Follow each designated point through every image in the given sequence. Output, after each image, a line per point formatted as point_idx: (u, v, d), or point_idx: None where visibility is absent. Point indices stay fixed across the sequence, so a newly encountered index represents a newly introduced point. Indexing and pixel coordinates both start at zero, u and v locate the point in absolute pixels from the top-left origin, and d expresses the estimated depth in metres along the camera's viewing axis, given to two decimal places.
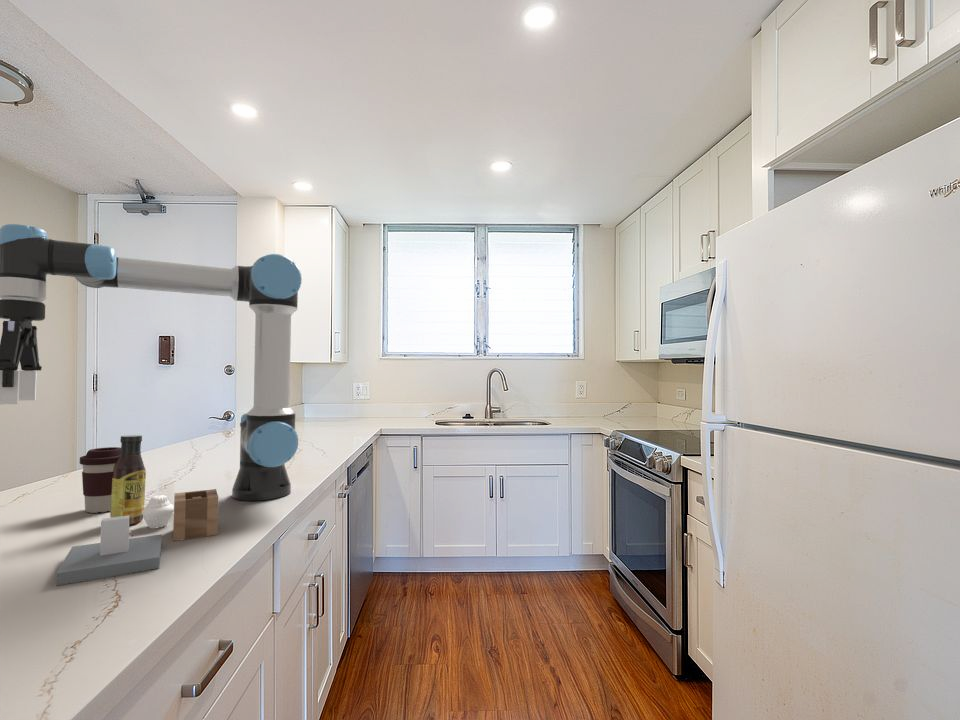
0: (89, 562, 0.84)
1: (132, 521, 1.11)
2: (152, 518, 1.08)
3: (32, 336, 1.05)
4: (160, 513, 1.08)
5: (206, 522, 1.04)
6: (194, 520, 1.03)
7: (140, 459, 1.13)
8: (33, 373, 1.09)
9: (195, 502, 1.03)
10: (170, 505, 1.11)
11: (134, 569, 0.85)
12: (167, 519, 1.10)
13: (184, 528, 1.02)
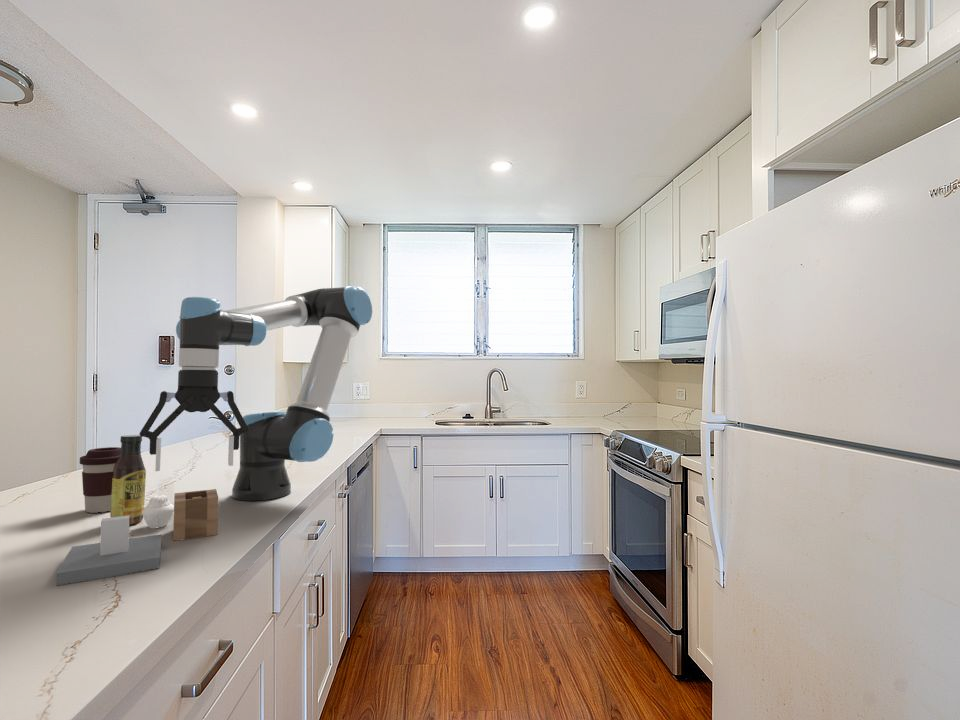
0: (89, 562, 0.84)
1: (132, 521, 1.11)
2: (152, 518, 1.08)
3: (204, 403, 1.06)
4: (160, 513, 1.08)
5: (206, 522, 1.04)
6: (194, 520, 1.03)
7: (140, 459, 1.13)
8: (230, 438, 1.09)
9: (195, 502, 1.03)
10: (170, 505, 1.11)
11: (134, 569, 0.85)
12: (167, 519, 1.10)
13: (184, 528, 1.02)
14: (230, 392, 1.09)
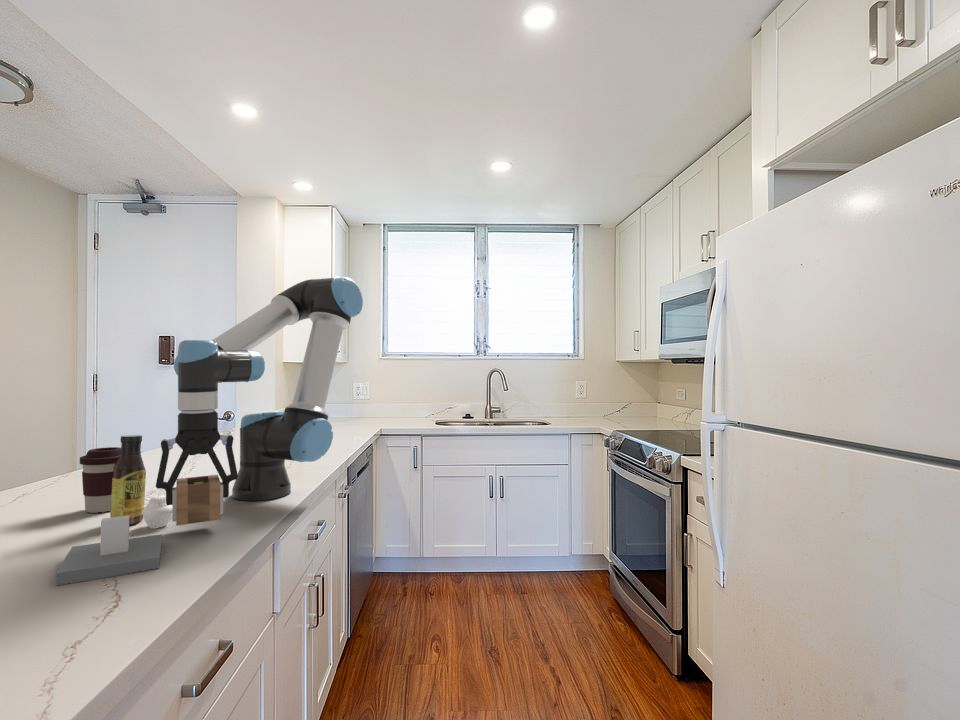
0: (89, 562, 0.84)
1: (132, 521, 1.11)
2: (152, 518, 1.08)
3: (203, 445, 1.06)
4: (160, 513, 1.08)
5: (209, 507, 1.05)
6: (197, 505, 1.03)
7: (140, 459, 1.13)
8: None
9: (197, 487, 1.03)
10: (170, 505, 1.11)
11: (134, 569, 0.85)
12: (167, 519, 1.10)
13: (187, 513, 1.03)
14: (231, 437, 1.09)
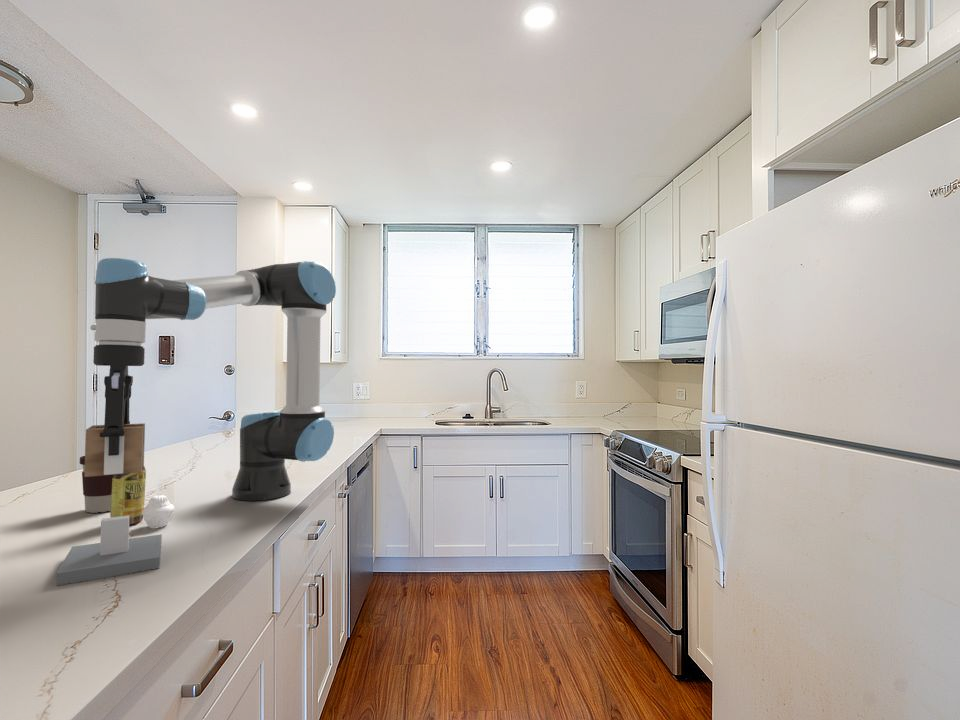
0: (89, 562, 0.84)
1: (132, 521, 1.11)
2: (152, 518, 1.08)
3: None
4: (160, 513, 1.08)
5: (143, 451, 0.93)
6: None
7: None
8: None
9: (143, 428, 0.92)
10: (170, 505, 1.11)
11: (134, 569, 0.85)
12: (167, 519, 1.10)
13: (142, 458, 0.90)
14: None
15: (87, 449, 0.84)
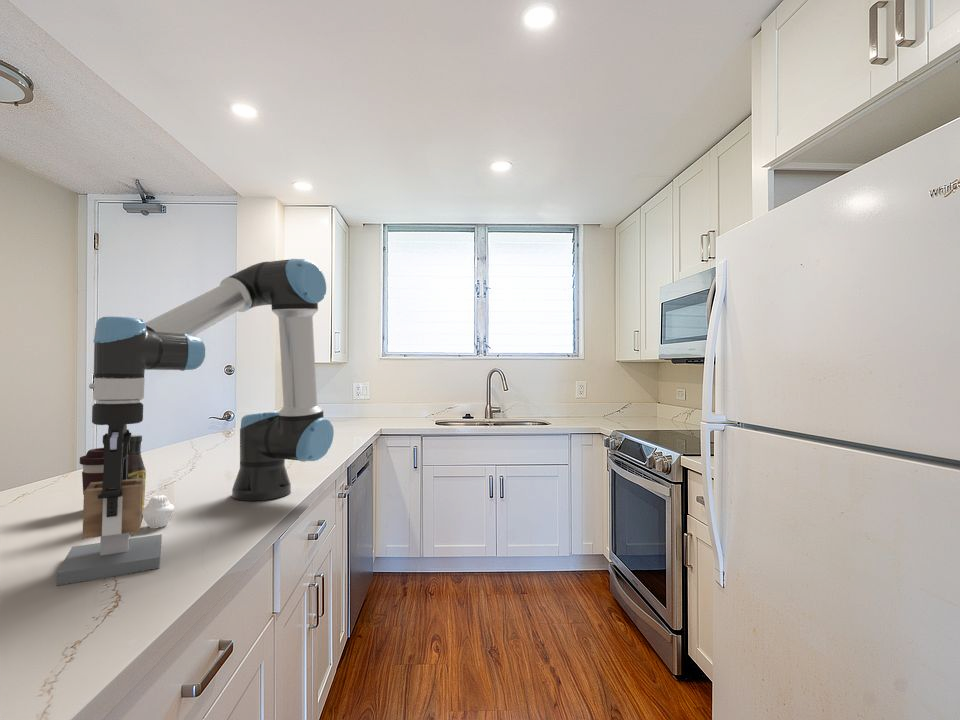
0: (89, 562, 0.84)
1: None
2: (152, 518, 1.08)
3: None
4: (160, 513, 1.08)
5: None
6: (141, 506, 0.91)
7: (140, 459, 1.13)
8: None
9: None
10: (170, 505, 1.11)
11: (134, 569, 0.85)
12: (167, 519, 1.10)
13: (140, 515, 0.90)
14: (128, 430, 0.96)
15: (85, 511, 0.84)
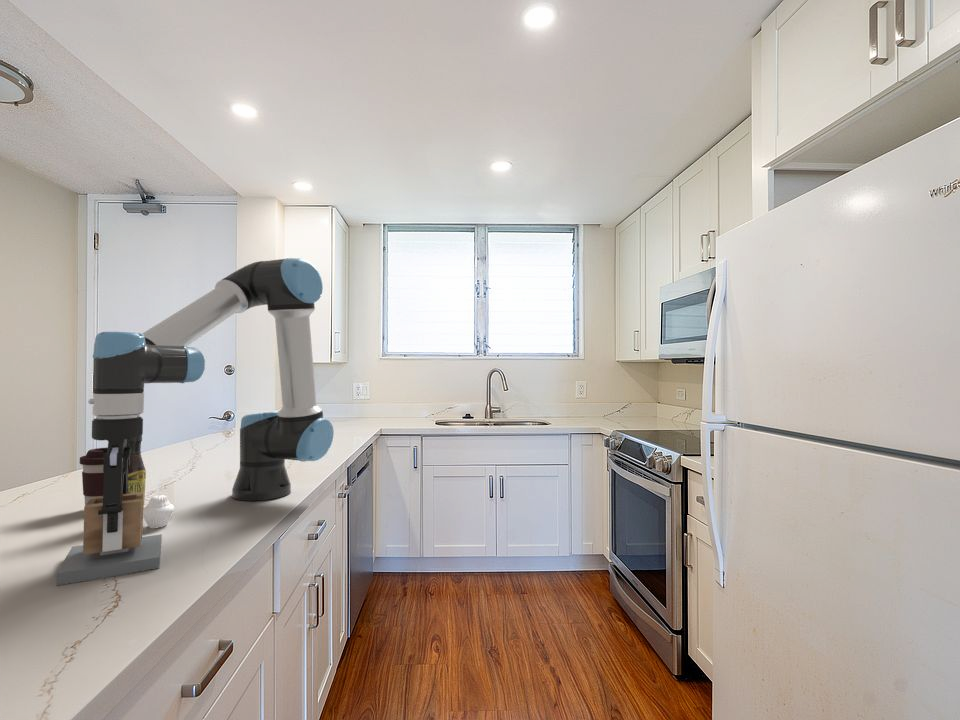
0: (89, 562, 0.84)
1: None
2: (152, 518, 1.08)
3: None
4: (160, 513, 1.08)
5: (142, 521, 0.93)
6: (141, 520, 0.91)
7: (140, 459, 1.13)
8: None
9: (142, 499, 0.91)
10: (170, 505, 1.11)
11: (134, 569, 0.85)
12: (167, 519, 1.10)
13: None
14: (128, 444, 0.96)
15: (85, 527, 0.84)
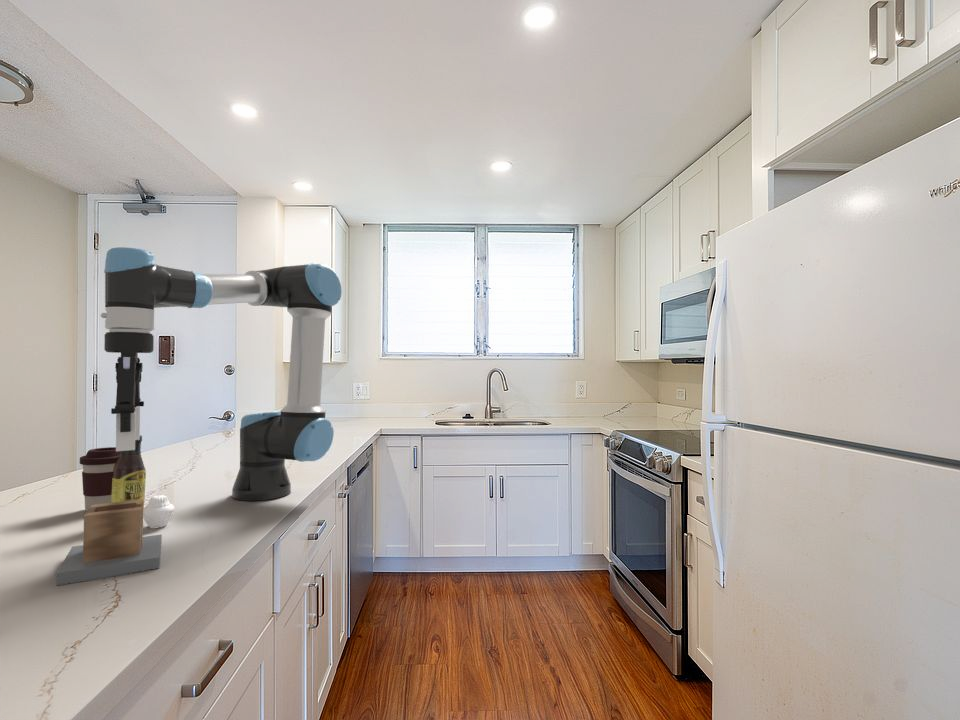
0: (89, 562, 0.84)
1: None
2: (152, 518, 1.08)
3: None
4: (160, 513, 1.08)
5: (142, 529, 0.93)
6: (141, 528, 0.91)
7: (140, 459, 1.13)
8: (137, 410, 0.98)
9: None
10: (170, 505, 1.11)
11: (134, 569, 0.85)
12: (167, 519, 1.10)
13: (140, 538, 0.90)
14: None
15: (85, 535, 0.84)
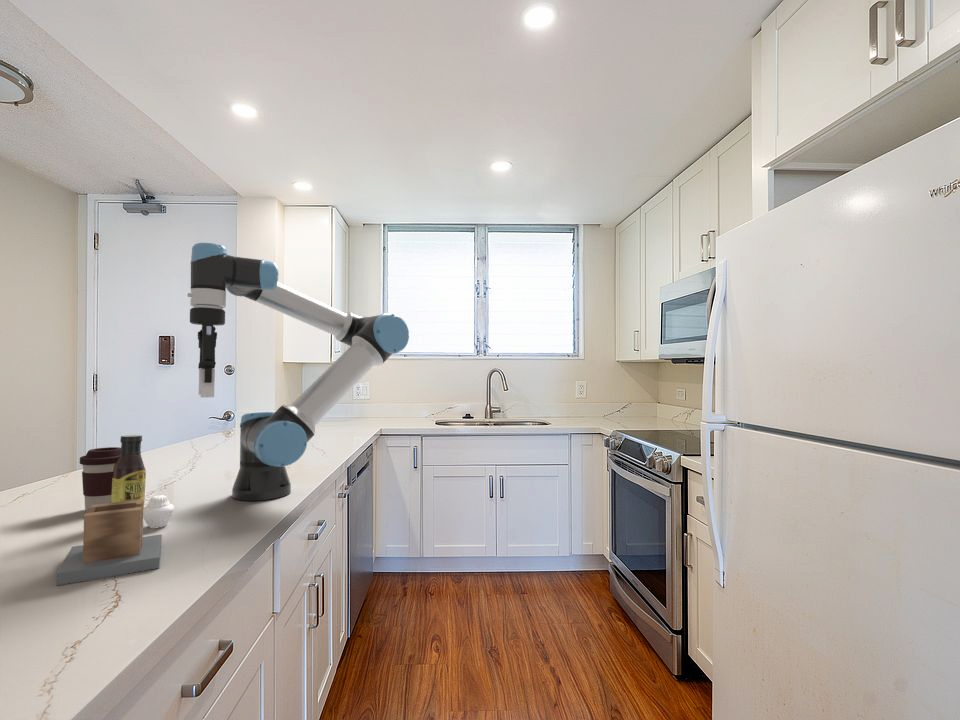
0: (89, 562, 0.84)
1: None
2: (152, 518, 1.08)
3: None
4: (160, 513, 1.08)
5: (142, 529, 0.93)
6: (141, 528, 0.91)
7: (140, 459, 1.13)
8: None
9: None
10: (170, 505, 1.11)
11: (134, 569, 0.85)
12: (167, 519, 1.10)
13: (140, 538, 0.90)
14: None
15: (85, 535, 0.84)
